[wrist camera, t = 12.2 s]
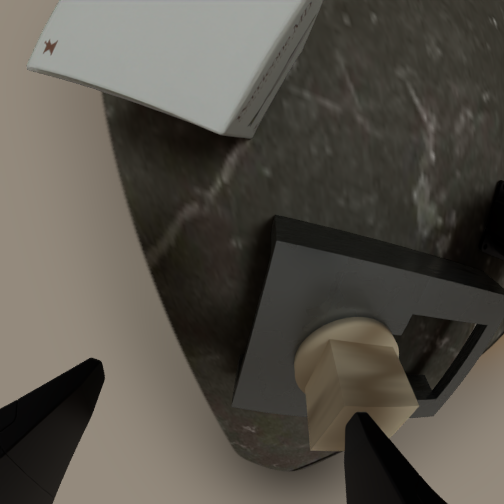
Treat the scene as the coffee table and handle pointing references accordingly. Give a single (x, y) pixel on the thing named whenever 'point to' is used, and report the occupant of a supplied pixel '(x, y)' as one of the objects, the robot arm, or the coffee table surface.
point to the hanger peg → (351, 380)
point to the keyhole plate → (355, 308)
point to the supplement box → (180, 54)
